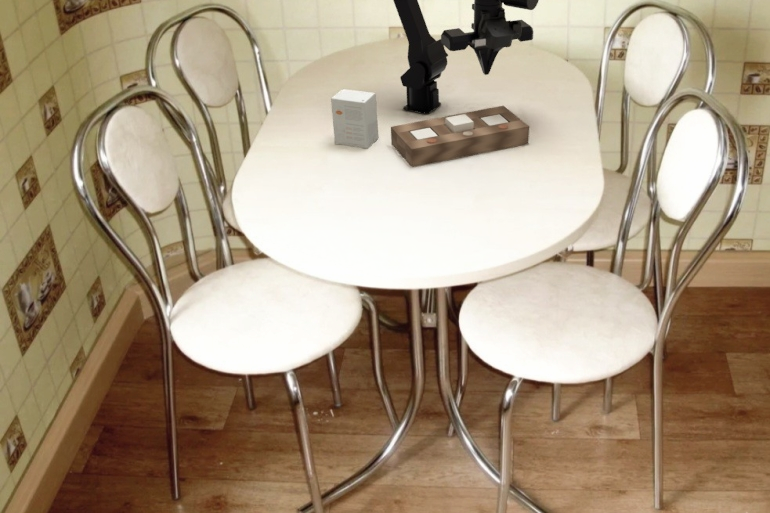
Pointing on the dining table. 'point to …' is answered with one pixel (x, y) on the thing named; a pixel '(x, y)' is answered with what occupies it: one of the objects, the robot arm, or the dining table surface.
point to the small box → (355, 118)
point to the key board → (459, 137)
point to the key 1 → (423, 134)
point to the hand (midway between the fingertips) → (485, 74)
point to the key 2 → (494, 120)
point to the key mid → (459, 123)
